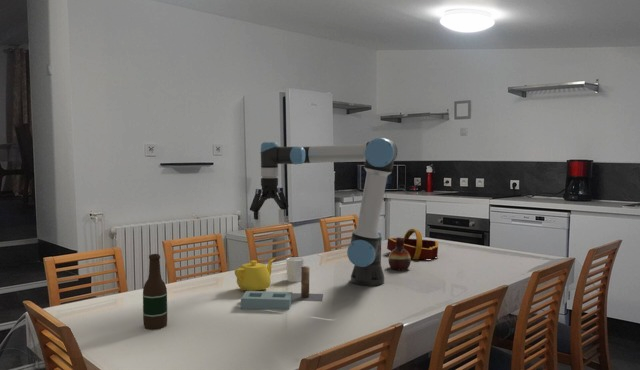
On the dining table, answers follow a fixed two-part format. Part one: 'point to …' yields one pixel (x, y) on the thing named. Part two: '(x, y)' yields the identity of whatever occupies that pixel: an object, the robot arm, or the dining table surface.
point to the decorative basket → (416, 246)
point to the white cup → (294, 268)
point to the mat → (311, 298)
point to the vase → (399, 256)
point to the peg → (305, 282)
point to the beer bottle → (154, 297)
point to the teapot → (254, 276)
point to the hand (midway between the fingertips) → (269, 225)
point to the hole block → (266, 300)
